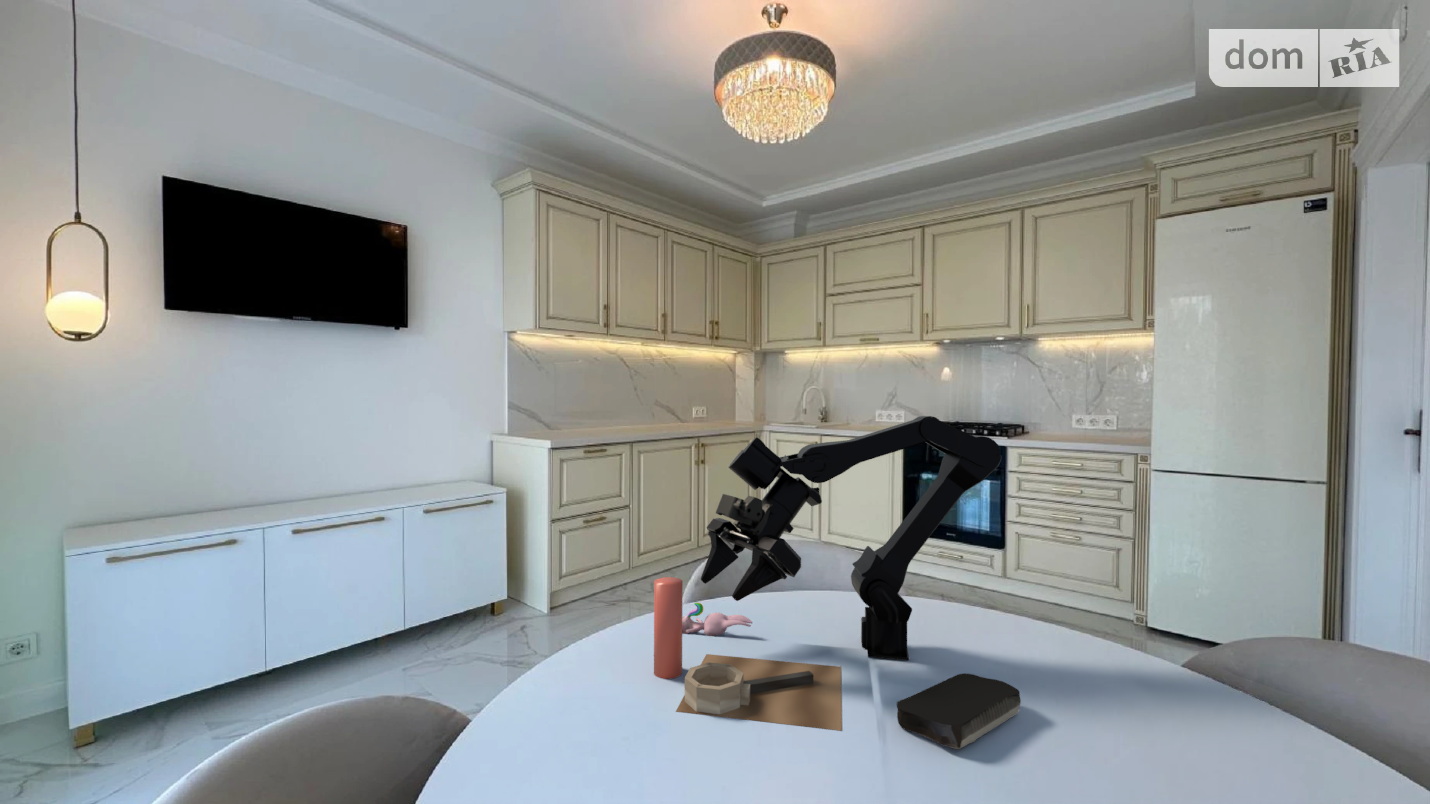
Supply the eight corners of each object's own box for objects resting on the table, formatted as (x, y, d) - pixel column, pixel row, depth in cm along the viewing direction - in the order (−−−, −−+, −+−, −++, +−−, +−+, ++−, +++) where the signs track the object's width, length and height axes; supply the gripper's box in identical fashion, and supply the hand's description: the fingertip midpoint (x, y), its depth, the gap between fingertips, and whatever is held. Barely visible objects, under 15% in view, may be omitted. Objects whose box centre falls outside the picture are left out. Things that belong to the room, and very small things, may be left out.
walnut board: (841, 675, 84) (841, 645, 84) (841, 740, 67) (841, 704, 67) (706, 662, 88) (706, 634, 88) (675, 721, 71) (675, 686, 71)
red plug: (685, 675, 83) (685, 578, 84) (677, 688, 79) (678, 586, 80) (658, 672, 84) (659, 576, 84) (650, 685, 80) (650, 584, 80)
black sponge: (953, 763, 63) (954, 730, 63) (889, 729, 70) (889, 698, 70) (1026, 718, 73) (1027, 688, 73) (964, 691, 80) (964, 664, 80)
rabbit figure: (662, 647, 97) (749, 641, 93) (657, 611, 97) (743, 604, 93) (674, 633, 103) (756, 627, 99) (669, 599, 103) (751, 592, 99)
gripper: (717, 469, 97) (656, 543, 91) (785, 482, 81) (716, 573, 75) (755, 512, 101) (700, 585, 95) (828, 532, 85) (766, 622, 79)
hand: (717, 589), depth 86 cm, fingers open, 9 cm apart
